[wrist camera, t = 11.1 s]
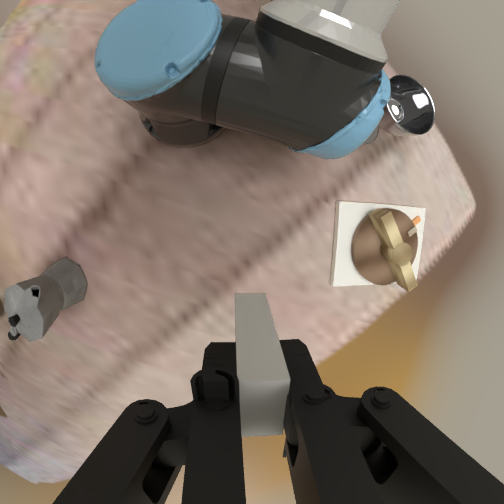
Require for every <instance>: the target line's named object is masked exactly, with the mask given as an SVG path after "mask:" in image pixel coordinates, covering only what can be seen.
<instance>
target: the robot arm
mask: <svg viewBox="0 0 504 504" xmlns="http://www.w3.org/2000/svg"><path fill="white" fill-rule="evenodd" d="M399 1H400V0H273V1H271V2H269V3H267V4H264V5H262V6H261V8H260V11H259V14H258V17H257V20H256V21H253V20H248V19H244V18H239V17H235V16H230V15H224V14H221V12H220V9H219V7H218V6H217V5H216V4H215V3H214V2H212V1H211V0H137V1H136V2H135V3H134V4H132V5H130V6H128V7H126V8H125V9H123V10H122V11H121V12H120V13H119V14H118V15H117V16H116V17H115V18H114V19H113V20H112V21H111V22H110V23H109V25H108V26H107V27H106V29H105V30H104V32H103V34H102V35H101V37H100V39H99V42H98V45H97V48H96V52H95V68H96V72H97V74H98V77H99V78H100V80H101V81H102V83H103V84H104V85H105V86H106V87H107V88H108V90H109V91H110V92H111V93H112V94H113V95H115V96H116V97H117V98H121V99H122V100H124V101H125V102H127V103H128V104H129V105H131V106H132V107H134V108H135V109H137V110H138V111H139V114H140V118H141V121H142V123H143V125H144V126H145V128H146V129H147V131H148V132H149V133H150V134H151V135H152V136H153V137H155V138H156V139H158V140H159V141H161V142H163V143H165V144H168V145H171V146H175V147H195V146H199V145H202V144H205V143H207V142H209V141H211V140H213V139H214V138H216V137H217V136H219V135H220V134H221V133H222V132H223V131H224V130H225V129H226V128H229V129H232V130H236V131H240V132H243V133H247V134H250V135H253V136H257V137H260V138H263V139H266V140H270V141H273V142H276V143H279V144H282V145H285V146H288V147H289V149H291V150H292V151H295V152H301V153H308V154H311V155H314V156H317V157H320V158H323V159H338V158H341V157H344V156H346V155H348V154H350V153H351V152H353V151H354V150H356V149H357V148H358V147H359V146H361V145H362V144H363V143H364V142H365V141H366V140H367V138H368V137H369V136H370V135H371V134H372V132H373V131H374V130H375V128H376V127H377V125H378V124H379V122H380V120H381V118H382V117H383V114H384V110H383V107H384V106H385V105H386V104H387V103H388V102H389V98H390V93H391V87H390V80H389V78H388V76H387V75H386V74H385V72H384V71H383V70H382V68H383V67H384V65H385V63H386V62H387V59H388V57H387V54H386V51H385V48H384V46H383V43H382V39H381V33H382V31H383V30H384V28H385V26H386V24H387V22H388V21H389V19H390V17H391V15H392V13H393V11H394V10H395V8H396V6H397V4H398V2H399ZM235 334H236V342H211V343H210V344H209V345H208V346H207V347H206V349H205V352H204V359H203V366H202V370H200V371H198V372H197V373H196V374H194V375H193V377H192V379H191V387H192V394H193V401H191V402H190V403H188V404H186V405H183V406H179V407H174V408H166V407H165V406H164V405H163V404H162V403H160V402H158V401H156V400H150V399H144V400H138V401H136V402H133V403H131V404H130V405H129V406H128V407H127V408H126V409H125V410H124V411H123V413H122V414H121V415H120V416H119V418H118V419H117V420H116V422H115V423H114V424H113V426H112V427H111V428H110V429H109V431H108V432H107V433H106V435H105V436H104V437H103V438H102V440H101V441H100V442H99V444H98V445H97V446H96V448H95V449H94V450H93V451H92V453H91V454H90V455H89V457H88V458H87V459H86V461H85V462H84V463H83V464H82V466H81V467H80V468H79V470H78V471H77V472H76V474H75V475H74V476H73V477H72V479H71V480H70V481H69V483H68V484H67V485H66V487H65V488H64V489H63V491H62V492H61V493H60V495H59V496H58V497H57V498H56V500H55V501H54V503H53V504H164V503H165V501H166V499H167V497H168V495H169V493H170V491H171V489H172V486H173V484H174V482H175V480H176V478H177V476H178V474H179V472H180V469H181V467H182V465H185V474H184V483H183V494H182V503H181V504H246V497H245V482H244V468H243V452H242V437H249V436H269V435H280V434H283V429H285V434H286V440H285V446H284V451H283V457H286V455H287V460H288V465H289V470H290V475H291V480H292V484H293V490H294V494H295V499H296V504H504V484H503V483H501V482H500V481H499V480H498V479H497V478H495V477H494V476H493V475H492V474H491V473H489V472H488V471H487V470H486V469H485V468H483V467H482V466H481V465H480V464H479V463H478V462H476V461H475V460H474V459H473V458H472V457H471V456H469V455H468V454H467V453H466V452H464V450H462V449H461V448H460V447H459V446H458V445H456V444H455V443H454V442H453V441H452V440H450V439H449V438H448V437H447V436H446V435H445V434H444V433H442V432H441V431H440V430H439V429H438V428H437V427H436V426H434V425H433V424H432V423H431V422H430V421H429V420H427V419H426V418H425V417H424V416H423V415H422V414H421V413H419V412H418V411H417V410H416V409H415V408H414V407H413V406H411V405H410V404H409V403H408V402H407V401H406V400H405V399H403V398H402V397H401V396H400V395H399V394H398V393H397V392H395V391H393V390H392V389H389V388H386V387H373V388H369V389H368V390H366V391H365V392H364V393H363V395H362V397H361V398H353V397H342V396H338V395H336V394H335V392H334V391H333V390H332V389H331V388H330V387H328V386H326V385H324V384H323V383H322V381H321V378H320V376H319V374H318V371H317V369H316V367H315V364H314V362H313V361H312V357H311V355H310V353H309V351H308V348H307V346H306V345H305V344H304V343H303V342H301V341H300V340H299V339H292V340H279V338H278V335H277V331H276V328H275V324H274V321H273V317H272V314H271V311H270V307H269V304H268V300H267V297H266V293H235Z"/></svg>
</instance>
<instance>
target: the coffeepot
mask: <svg viewBox="0 0 504 504" xmlns="http://www.w3.org/2000/svg"><path fill="white" fill-rule="evenodd" d="M86 289H87V281H86V278H85V275H84V273H83V271H82V270H81V268H80V266H79V265H78V264H76V263H75V262H74V261H72V260H70V259H67V258H66V257H65V258H63V259H60V260H58V261H56V262H54V263H53V264H52V265H51V266H50V267H48V268H47V269H46V270H45V271H44V272H43V273H42V274H41V275H40V276H39V277H35V278H32V279H29V280H26V281H23V282H20V283H17V284H15V285H13V286H11V287H9V288H7V289H5V306H4V308H5V311H6V313H7V315H8V317H9V323H10V325H11V327H10V329H9V333H8V337H9V339H10V340H16V339H17V338H18V337H19V336H20V335H22V336H24V337H25V338H26V339H28V340H29V341H34V340H38V339H41V338H43V337H44V335H45V334H46V332H47V331H48V329H49V328H50V326H51V325H52V324H53V322H54V321H55V319H56V318H57V317H58V315H59V311H61V310H63V309H65V308H67V307H70V306H72V305H74V304H76V303H78V302H80V301H82V300H84V296H85V293H86Z"/></svg>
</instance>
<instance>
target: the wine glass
mask: <svg viewBox="0 0 504 504" xmlns="http://www.w3.org/2000/svg"><path fill="white" fill-rule="evenodd" d="M389 80H390V87H391V93H390V98H389V102H388V103H387V104H386V105H385V106H384V107H383V110H384V114H383V117H382V118H381V120H380V122H379V124H378V125H377V127H376V128H375V130H374V131H373V132H372V134H371V135H370V136H369V137H368V138H367V140H366V141H365V142H364V143H363V144H368V143H371V142H372V141H374V140H375V139H376V137H377V135H378V132H379V128H380V129H382V130H383V131H385V132H387V133H389V134H392V135H396V136H416V135H421V134H424V133H426V132H428V131H429V130H430V129H431V128H432V126H433V124H434V120H435V110H434V105H433V102H432V99H431V97H430V95H429V93H428V92H427V90H426V89H425V88H424V87H423V85H422V84H421V83H419V82H418V81H417V80H416V79H414V78H412V77H410V76H407V75H396V76H394V77H391V78H390V79H389Z"/></svg>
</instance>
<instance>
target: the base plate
mask: <svg viewBox="0 0 504 504" xmlns="http://www.w3.org/2000/svg"><path fill="white" fill-rule="evenodd" d="M377 208H392V209H396V210H400V211H402V212H403V213H405V214H406V215H407V216H408V217H409V218H410V219H411V220H412V222H413V223H414V226H416V228H417V236H418V248H417V253H416V257H415V260H414V262H413V264H412V269H413V272H414V275H415V278H416V279H417V273H418V267H419V261H420V254H421V247H422V239H423V230H424V220H425V208H420V207H411V206H400V205H389V204H377V203H363V202H348V201H336V214H335V231H334V245H333V257H332V268H331V278H330V284H331V285H332V286H333V287H334V286H355V285H373V283H371V282H369V281H368V280H366V279H365V278H364V277H363V276H361V275H360V274H359V272H358V271H357V269H356V268H355V266H354V263H353V260H352V254H351V246H352V240H353V236H354V233H355V231H356V229H357V227H358V225H359V223H360V222H361V221H362V220H363V219H364V218H365V217H366V216H367V215H368V214H369V213H371V212H372V211H374V210H376V209H377ZM394 283H396V282H394Z"/></svg>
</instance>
